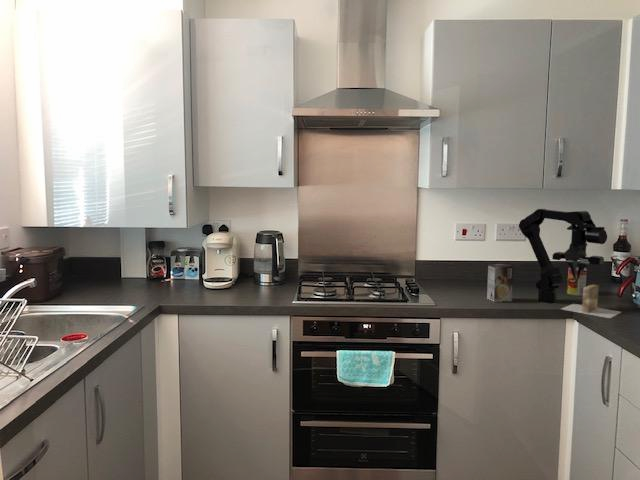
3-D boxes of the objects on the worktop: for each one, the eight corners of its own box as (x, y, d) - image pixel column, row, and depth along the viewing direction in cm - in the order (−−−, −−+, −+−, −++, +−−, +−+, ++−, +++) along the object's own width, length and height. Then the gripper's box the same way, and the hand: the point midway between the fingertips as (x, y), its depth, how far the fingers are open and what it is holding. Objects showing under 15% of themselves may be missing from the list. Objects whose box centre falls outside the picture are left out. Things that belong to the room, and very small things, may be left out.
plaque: (581, 311, 214) (582, 287, 213) (590, 307, 221) (591, 284, 219) (588, 312, 212) (589, 288, 211) (597, 308, 219) (598, 285, 218)
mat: (560, 310, 218) (560, 309, 218) (573, 304, 228) (573, 303, 227) (609, 319, 204) (609, 318, 204) (621, 313, 214) (621, 311, 214)
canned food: (573, 291, 255) (575, 266, 254) (588, 294, 248) (590, 269, 247) (563, 292, 251) (564, 268, 250) (578, 296, 244) (579, 270, 243)
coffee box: (504, 298, 239) (506, 263, 237) (512, 301, 233) (514, 265, 231) (486, 299, 238) (487, 264, 236) (493, 302, 231) (495, 266, 229)
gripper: (547, 240, 218) (545, 277, 220) (595, 245, 205) (593, 284, 207) (558, 238, 226) (556, 274, 228) (605, 242, 212) (603, 280, 214)
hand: (576, 278), depth 219 cm, fingers closed
